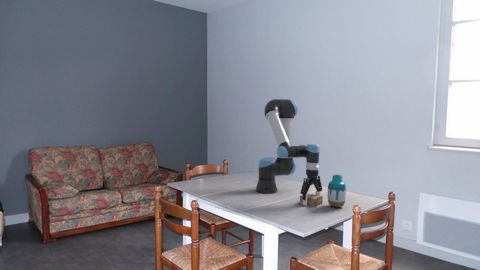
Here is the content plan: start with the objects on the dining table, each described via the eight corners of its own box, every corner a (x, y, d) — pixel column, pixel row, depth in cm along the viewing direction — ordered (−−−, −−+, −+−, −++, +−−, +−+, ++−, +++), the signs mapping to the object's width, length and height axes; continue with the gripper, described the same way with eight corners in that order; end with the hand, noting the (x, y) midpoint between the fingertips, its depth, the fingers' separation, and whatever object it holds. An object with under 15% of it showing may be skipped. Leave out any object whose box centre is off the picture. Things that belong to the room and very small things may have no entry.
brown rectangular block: (299, 203, 224) (299, 196, 224) (306, 201, 231) (306, 193, 230) (315, 207, 217) (316, 199, 217) (322, 204, 224) (322, 196, 224)
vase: (347, 206, 220) (348, 175, 218) (342, 210, 210) (343, 177, 209) (330, 203, 225) (331, 173, 223) (324, 207, 216) (325, 175, 214)
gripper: (305, 172, 211) (303, 208, 213) (328, 167, 228) (327, 201, 229) (294, 170, 217) (294, 205, 218) (318, 166, 233) (317, 198, 235)
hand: (311, 203), depth 224 cm, fingers open, 12 cm apart
